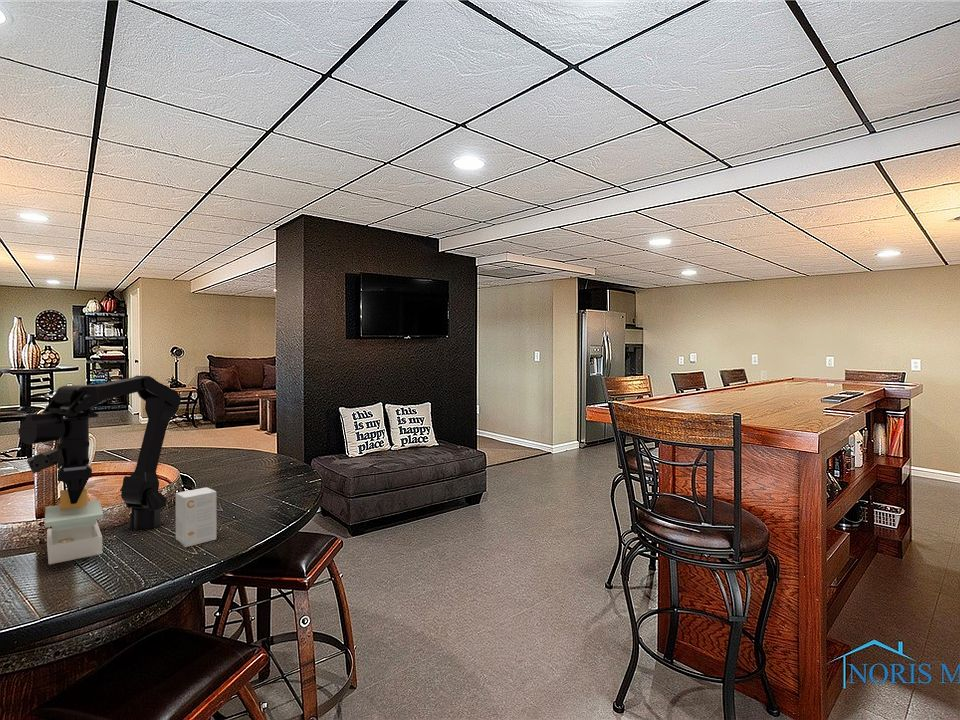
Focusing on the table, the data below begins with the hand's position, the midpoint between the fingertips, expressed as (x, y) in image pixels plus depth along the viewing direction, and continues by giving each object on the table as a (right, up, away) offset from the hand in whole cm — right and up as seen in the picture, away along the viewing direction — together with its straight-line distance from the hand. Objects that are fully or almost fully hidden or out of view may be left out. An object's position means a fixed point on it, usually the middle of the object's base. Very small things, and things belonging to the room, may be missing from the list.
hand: (73, 502), depth 126 cm
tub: (-2, -13, +2) cm, 13 cm away
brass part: (-4, -12, +3) cm, 13 cm away
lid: (+2, -4, -3) cm, 5 cm away
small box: (+23, -14, +12) cm, 29 cm away
